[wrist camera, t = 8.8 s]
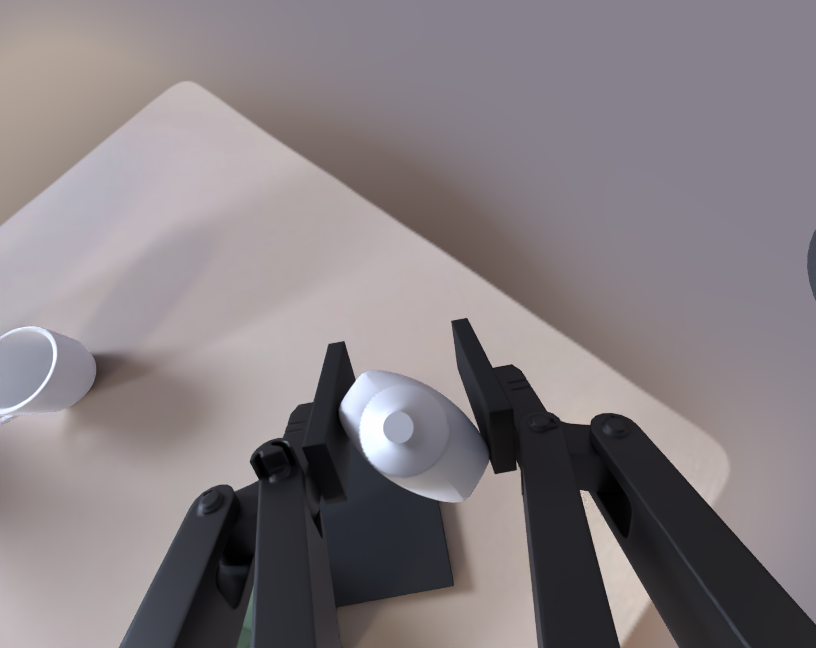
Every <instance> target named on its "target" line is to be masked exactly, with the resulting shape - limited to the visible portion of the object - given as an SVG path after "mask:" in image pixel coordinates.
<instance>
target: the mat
mask: <svg viewBox="0 0 816 648" xmlns="http://www.w3.org/2000/svg"><path fill="white" fill-rule="evenodd" d="M319 508H320V510H321V512H322V515H323V520H324V527H325V534H326V542H327V549H328V556H329V564H330V571H331V578H332V585H333V593H334V600H335V607H340V606H346V605H351V604H357V603H362V602H368V601H373V600H379V599H384V598H390V597H395V596H401V595H406V594H412V593H417V592H423V591H428V590H433V589H439V588H444V587H450V586H454V583H453V577H452V572H451V567H450V561H449V556H448V550H447V545H446V540H445V534H444V529H443V524H442V518H441V513H440V508H439V502H438V500H435V499H431V498H428V497H425V496H422V495H419V494H416V493H414V492H412V491H409V490H407V489H405V488H403V487H401V486H399V485H398V484H396V483H394V482H392V481H391V480H389V479H388V478H387V477H385V476H384V475H382V474H381V473H380V472H379V471H377V470H376V469H375V468H374V467H373V466H372V465H371V464H370V463H369V462H368V461H367V460H366V459H365V458H364V457H363V456H362V455H361V454H360V452H359V451H358V450H357V449H356V447H355V446H354V445H353V444H352V455H351V466H350V476H349V487H348V498H347V501H344V502H339V503H333V504H328V505H326V504H325V502H324V500H323V497H322V495H321V500H320V506H319Z"/></svg>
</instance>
